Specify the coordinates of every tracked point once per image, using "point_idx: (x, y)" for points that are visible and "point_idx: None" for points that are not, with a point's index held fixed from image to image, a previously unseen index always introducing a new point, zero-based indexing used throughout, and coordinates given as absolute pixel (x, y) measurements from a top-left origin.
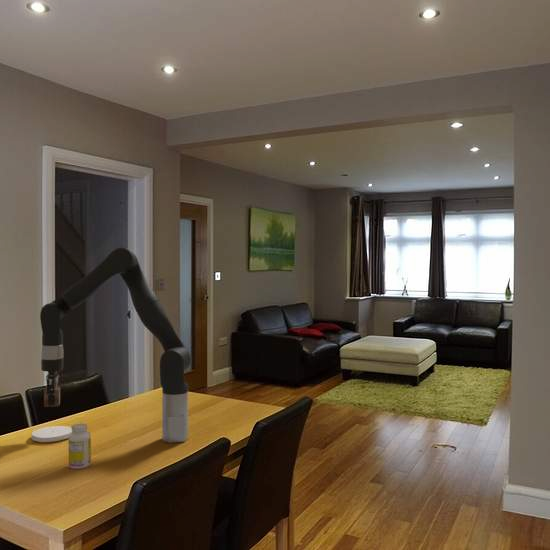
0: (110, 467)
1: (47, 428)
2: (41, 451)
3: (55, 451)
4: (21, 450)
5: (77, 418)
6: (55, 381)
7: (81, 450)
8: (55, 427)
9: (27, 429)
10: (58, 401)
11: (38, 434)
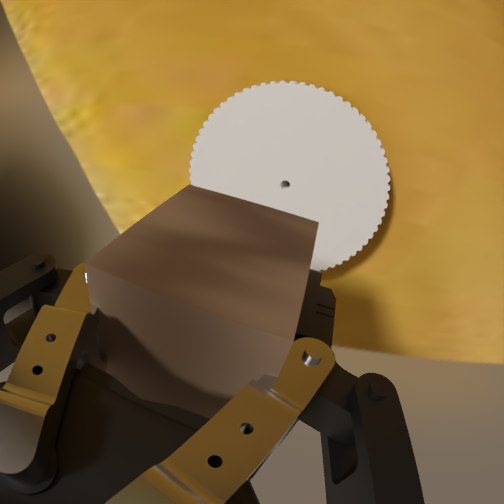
0: None
1: None
2: (452, 259)
3: (488, 216)
4: (390, 311)
5: (63, 56)
6: (235, 496)
7: None
8: (216, 158)
9: None
10: (312, 247)
11: None
